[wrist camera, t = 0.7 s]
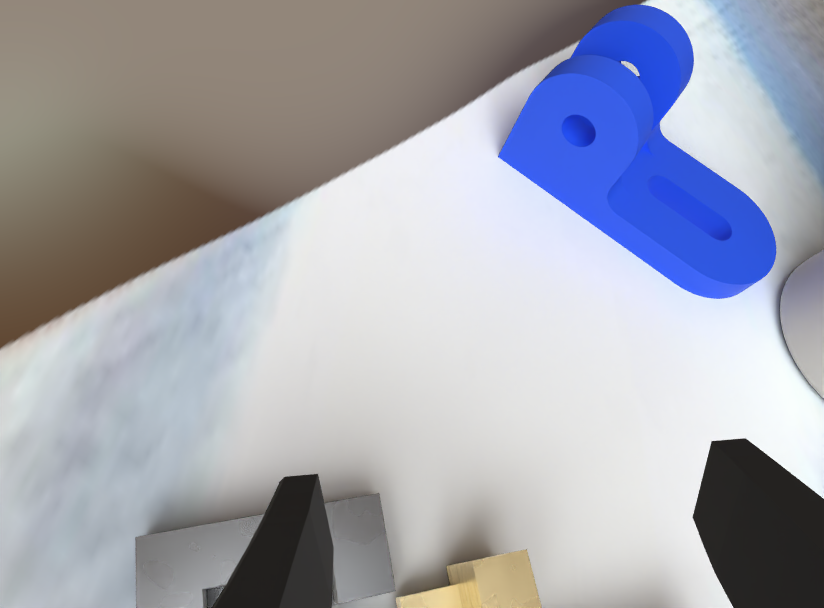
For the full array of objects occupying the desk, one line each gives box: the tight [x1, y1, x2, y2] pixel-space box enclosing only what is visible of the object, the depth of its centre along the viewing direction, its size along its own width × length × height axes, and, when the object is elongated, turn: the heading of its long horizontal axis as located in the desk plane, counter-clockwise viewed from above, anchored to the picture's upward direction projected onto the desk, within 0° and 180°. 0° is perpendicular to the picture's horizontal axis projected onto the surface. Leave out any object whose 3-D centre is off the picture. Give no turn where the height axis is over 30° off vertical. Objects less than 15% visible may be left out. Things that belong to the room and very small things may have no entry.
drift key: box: [396, 549, 542, 608], centre depth 25 cm, size 3×5×4 cm, turn 101°
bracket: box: [498, 5, 776, 299], centre depth 36 cm, size 18×8×9 cm, turn 54°
